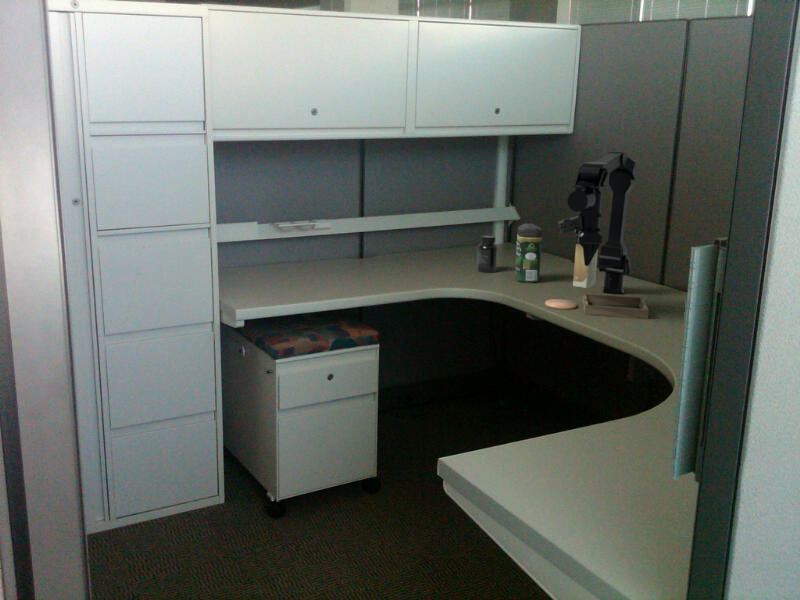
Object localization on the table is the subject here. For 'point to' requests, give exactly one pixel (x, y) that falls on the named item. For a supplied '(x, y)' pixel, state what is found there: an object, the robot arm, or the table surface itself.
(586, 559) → the table surface
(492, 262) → the supplement bottle
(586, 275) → the skincare box
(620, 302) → the brown wooden frame
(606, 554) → the table surface
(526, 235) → the coffee jar
